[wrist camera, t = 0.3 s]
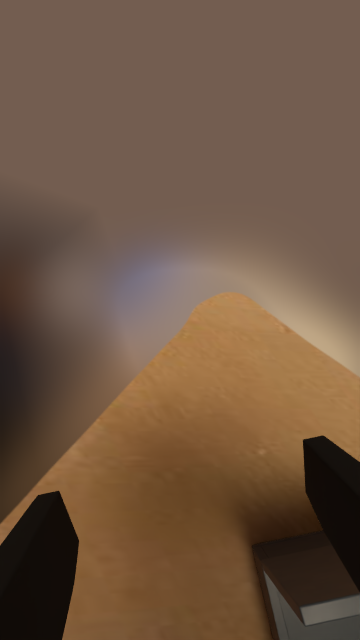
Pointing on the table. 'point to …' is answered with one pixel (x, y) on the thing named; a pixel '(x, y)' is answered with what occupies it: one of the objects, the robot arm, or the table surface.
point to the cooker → (287, 630)
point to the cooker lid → (314, 585)
